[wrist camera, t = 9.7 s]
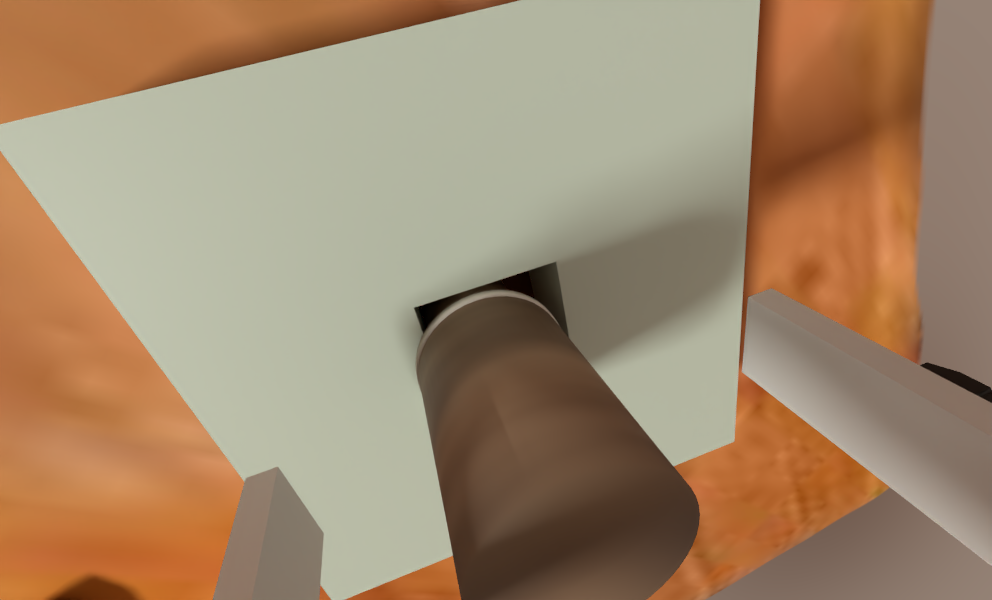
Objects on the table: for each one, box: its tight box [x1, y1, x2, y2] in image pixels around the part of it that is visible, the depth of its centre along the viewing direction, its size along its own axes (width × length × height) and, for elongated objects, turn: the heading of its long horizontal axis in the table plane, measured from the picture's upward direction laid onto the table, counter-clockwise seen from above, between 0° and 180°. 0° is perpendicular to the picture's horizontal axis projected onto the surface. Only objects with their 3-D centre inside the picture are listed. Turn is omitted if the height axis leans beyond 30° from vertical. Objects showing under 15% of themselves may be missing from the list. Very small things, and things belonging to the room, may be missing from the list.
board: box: [0, 0, 760, 600], centre depth 18 cm, size 20×20×4 cm
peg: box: [416, 280, 700, 600], centre depth 14 cm, size 5×5×12 cm
